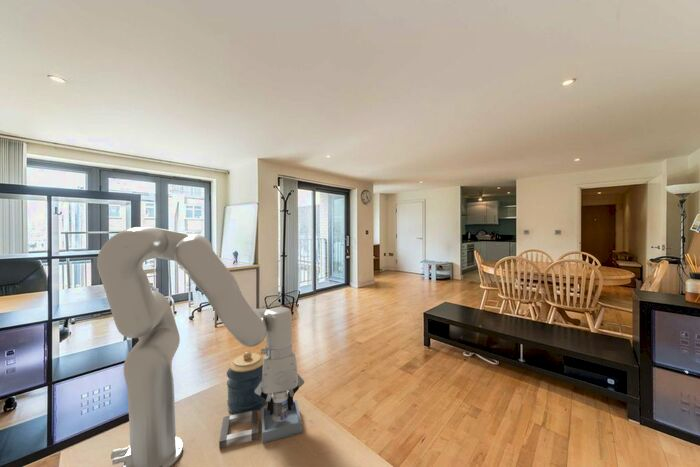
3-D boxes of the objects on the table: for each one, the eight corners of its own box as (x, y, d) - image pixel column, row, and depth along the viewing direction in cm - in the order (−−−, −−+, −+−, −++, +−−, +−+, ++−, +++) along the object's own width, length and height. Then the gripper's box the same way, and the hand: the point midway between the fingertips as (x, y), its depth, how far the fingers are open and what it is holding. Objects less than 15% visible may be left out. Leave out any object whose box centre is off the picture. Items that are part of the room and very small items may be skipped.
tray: (262, 443, 76) (262, 432, 75) (261, 417, 86) (261, 407, 86) (302, 433, 79) (302, 423, 79) (296, 409, 90) (296, 400, 89)
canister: (218, 408, 90) (217, 355, 90) (250, 387, 102) (249, 340, 101) (245, 422, 84) (244, 365, 83) (276, 398, 95) (275, 348, 95)
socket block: (219, 448, 74) (219, 441, 74) (223, 423, 83) (223, 416, 83) (258, 439, 77) (258, 432, 77) (258, 415, 87) (258, 409, 87)
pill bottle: (284, 423, 80) (283, 395, 79) (269, 421, 81) (268, 393, 80) (291, 412, 84) (290, 385, 84) (276, 410, 85) (276, 384, 85)
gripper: (248, 360, 75) (250, 425, 76) (309, 351, 81) (310, 411, 82) (249, 349, 83) (250, 408, 83) (305, 341, 88) (306, 396, 89)
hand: (280, 409), depth 82 cm, fingers closed on pill bottle, 4 cm apart
